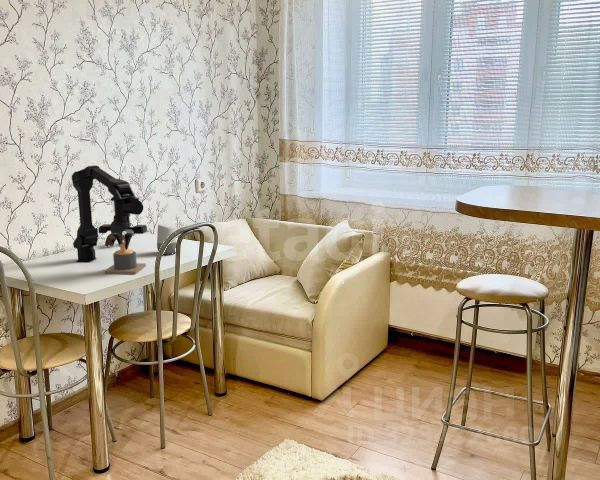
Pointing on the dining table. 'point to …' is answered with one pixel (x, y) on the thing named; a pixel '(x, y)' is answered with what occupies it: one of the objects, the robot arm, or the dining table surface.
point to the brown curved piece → (111, 240)
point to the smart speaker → (162, 236)
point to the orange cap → (123, 250)
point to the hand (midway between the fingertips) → (124, 249)
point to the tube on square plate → (125, 265)
